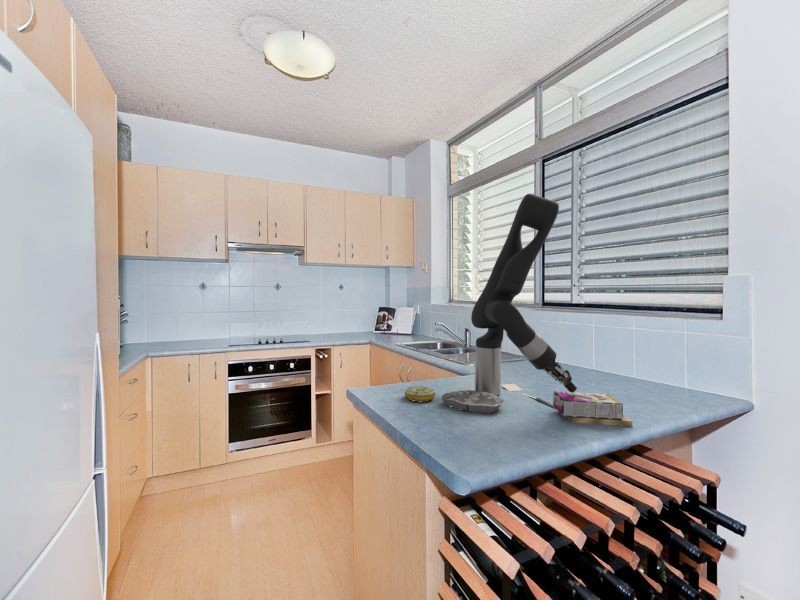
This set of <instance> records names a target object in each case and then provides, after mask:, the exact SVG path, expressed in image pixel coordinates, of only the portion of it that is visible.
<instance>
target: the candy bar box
mask: <svg viewBox="0 0 800 600" xmlns="http://www.w3.org/2000/svg"><path fill="white" fill-rule="evenodd" d="M552 395H553V396H552V398H553V399H552V400H553V401H552V405H553V406H554V407H555V408H556V409H557V410H556V409H555V410H556V411H558V412H559V414H560V415H561V416H562V417H567V416H568V417H585V418H602V419H619V420H622V419H623V415H624V404H623V403H622V402H621V401H619V400H617V399H616V398H615V397H613V396H611V395H610V394H608V393H599V392H595V393H594V392H578V391H577V392H576V391H575V392H574V393H571V392H569V391H560V390H559V391H557V390H553V393H552ZM568 417H567V418H568Z"/></svg>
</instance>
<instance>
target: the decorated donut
mask: <svg viewBox="0 0 800 600" xmlns="http://www.w3.org/2000/svg"><path fill="white" fill-rule="evenodd" d="M404 395H405V398H406V397H407V398H408V399H411V400H415V401H427V400H431V401H433V400H434V398H435V396H436V391H435V389H433V388H431V387H428V386H421V385H420V386H417V385H416V386H415V385H414V386H410V387H408V388H406V389H405V390H404ZM407 398H406V399H407ZM408 399H407V400H408ZM432 399H433V400H432Z"/></svg>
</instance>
